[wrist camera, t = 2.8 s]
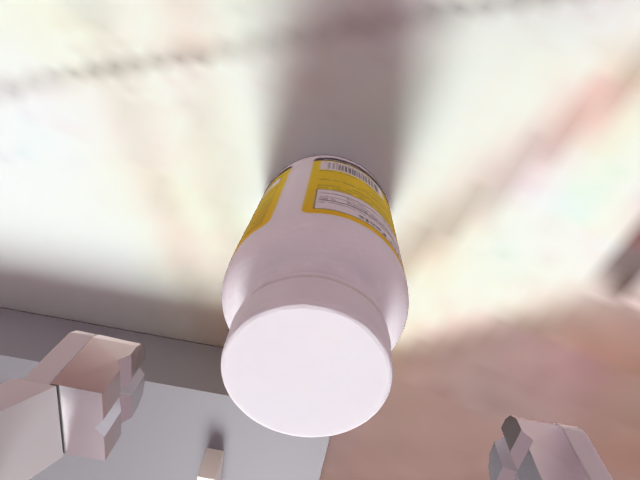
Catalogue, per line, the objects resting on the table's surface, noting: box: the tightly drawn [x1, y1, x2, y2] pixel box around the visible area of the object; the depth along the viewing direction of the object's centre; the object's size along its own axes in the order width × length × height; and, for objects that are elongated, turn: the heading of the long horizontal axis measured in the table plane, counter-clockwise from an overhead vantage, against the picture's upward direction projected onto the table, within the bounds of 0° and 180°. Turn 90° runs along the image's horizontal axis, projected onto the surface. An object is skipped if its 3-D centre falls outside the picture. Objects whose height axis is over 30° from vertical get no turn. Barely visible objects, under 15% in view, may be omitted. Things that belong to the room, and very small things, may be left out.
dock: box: [0, 308, 330, 480], centre depth 23 cm, size 20×15×4 cm
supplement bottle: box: [221, 155, 409, 437], centre depth 15 cm, size 5×5×10 cm
